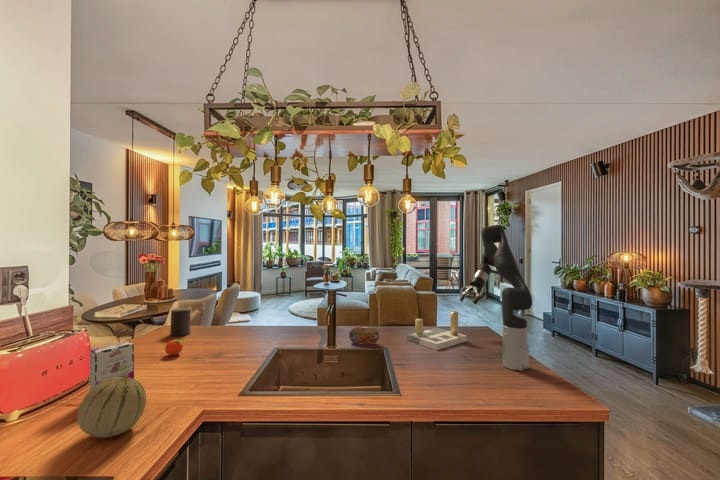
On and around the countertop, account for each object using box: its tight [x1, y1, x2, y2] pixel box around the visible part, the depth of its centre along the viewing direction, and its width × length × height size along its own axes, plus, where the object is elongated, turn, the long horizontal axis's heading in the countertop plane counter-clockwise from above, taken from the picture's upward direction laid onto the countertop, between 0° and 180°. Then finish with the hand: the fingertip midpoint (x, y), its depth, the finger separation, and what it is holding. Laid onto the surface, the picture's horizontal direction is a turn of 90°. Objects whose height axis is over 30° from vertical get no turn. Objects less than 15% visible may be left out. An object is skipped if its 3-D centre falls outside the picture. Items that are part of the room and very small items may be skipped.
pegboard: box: [406, 318, 467, 351], centre depth 174 cm, size 20×24×11 cm
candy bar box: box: [89, 341, 135, 391], centre depth 109 cm, size 11×5×16 cm, turn 148°
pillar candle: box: [169, 307, 192, 337], centre depth 181 cm, size 10×10×15 cm
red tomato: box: [164, 339, 184, 356], centre depth 148 cm, size 8×7×7 cm
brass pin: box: [449, 311, 459, 336], centre depth 175 cm, size 4×4×12 cm
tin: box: [348, 326, 380, 346], centre depth 168 cm, size 15×3×8 cm, turn 80°
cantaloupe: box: [77, 374, 147, 439], centre depth 88 cm, size 15×15×15 cm
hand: (467, 302), depth 182 cm, fingers open, 8 cm apart
